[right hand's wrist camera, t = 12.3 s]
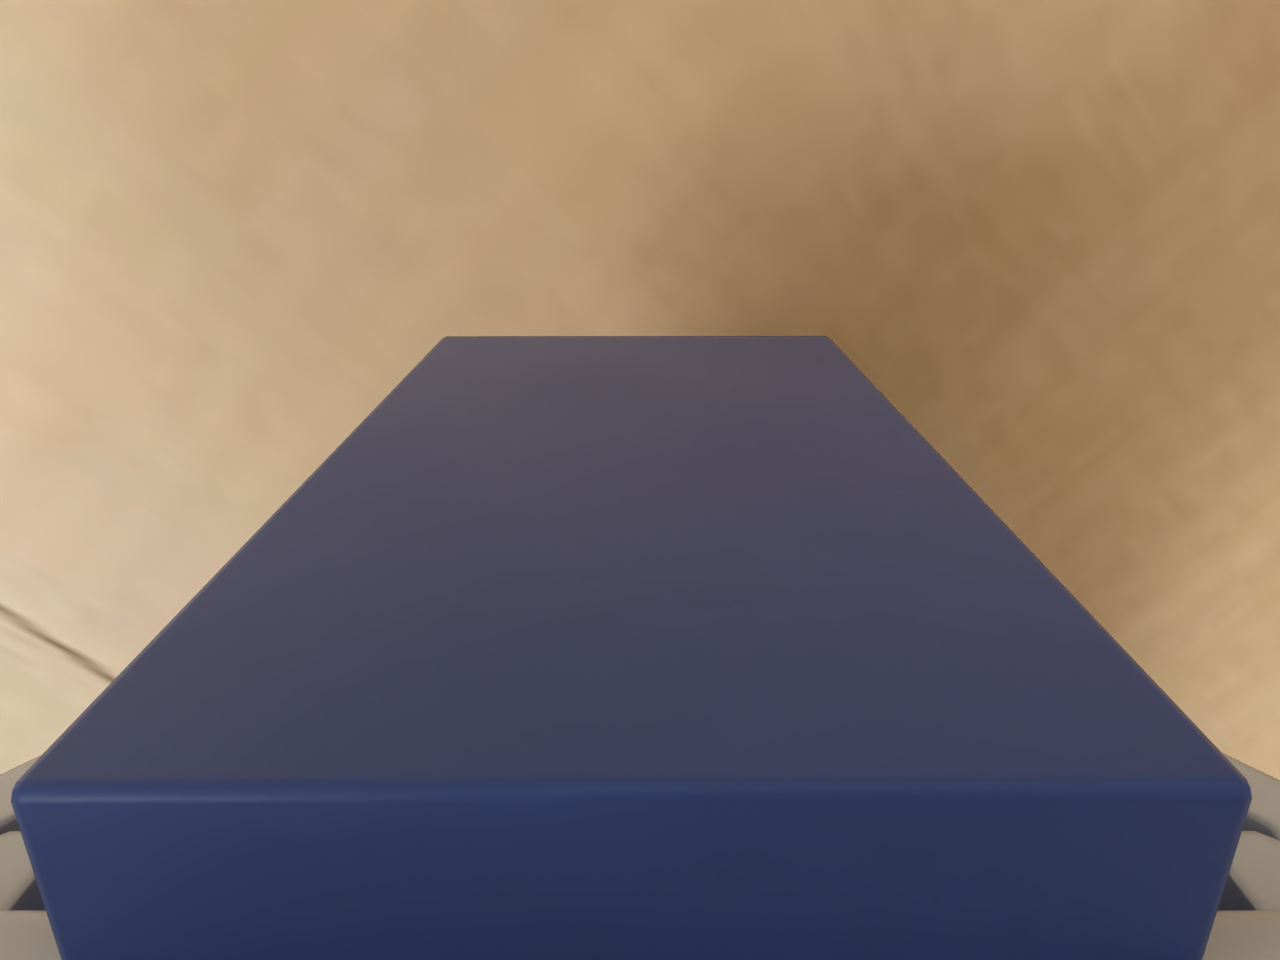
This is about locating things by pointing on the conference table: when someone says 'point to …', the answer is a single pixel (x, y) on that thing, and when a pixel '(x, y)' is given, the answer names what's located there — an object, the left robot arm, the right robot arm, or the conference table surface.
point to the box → (633, 699)
